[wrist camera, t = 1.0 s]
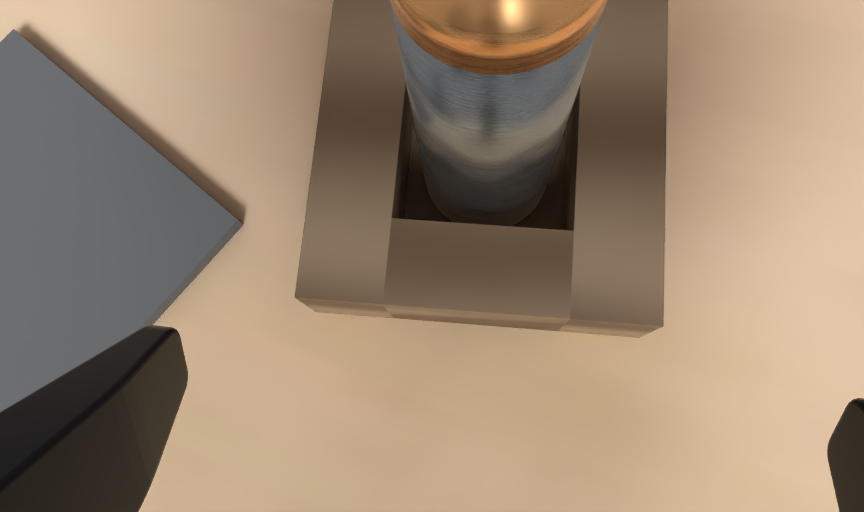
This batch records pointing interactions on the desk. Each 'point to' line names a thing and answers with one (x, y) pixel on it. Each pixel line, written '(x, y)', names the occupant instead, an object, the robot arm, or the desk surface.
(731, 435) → the desk surface
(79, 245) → the mat
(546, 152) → the amber topped metal pillar
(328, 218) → the brown square frame
